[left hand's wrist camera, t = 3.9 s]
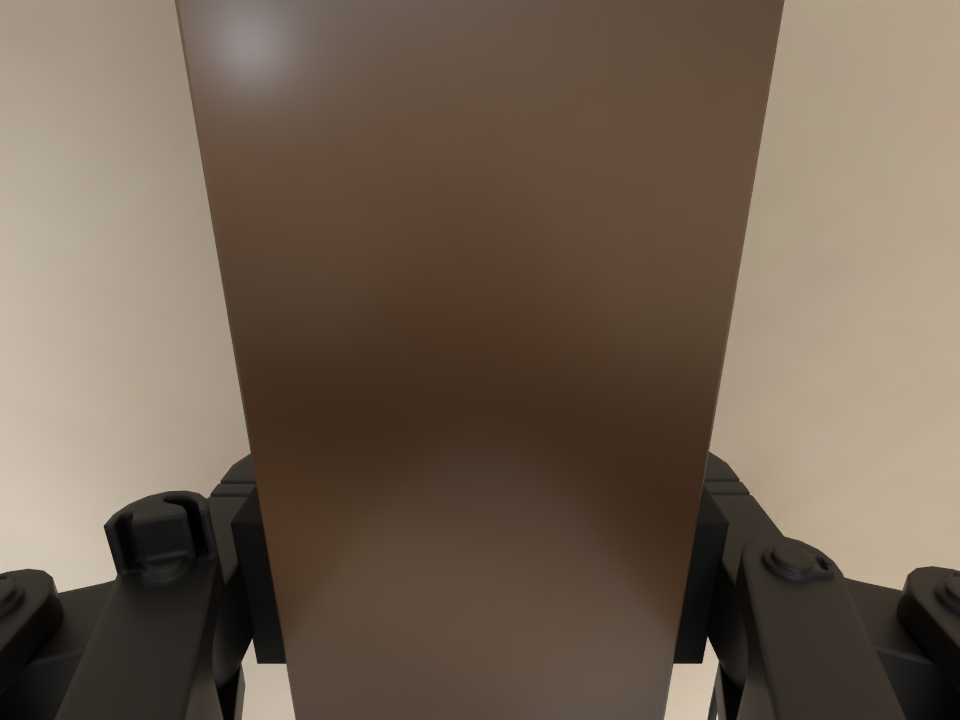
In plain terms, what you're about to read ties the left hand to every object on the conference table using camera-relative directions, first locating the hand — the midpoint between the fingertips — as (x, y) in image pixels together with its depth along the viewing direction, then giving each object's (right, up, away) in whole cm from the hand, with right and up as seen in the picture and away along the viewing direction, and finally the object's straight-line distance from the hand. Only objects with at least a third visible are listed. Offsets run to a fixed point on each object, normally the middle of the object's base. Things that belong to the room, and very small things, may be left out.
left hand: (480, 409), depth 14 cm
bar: (0, +31, -11) cm, 33 cm away
